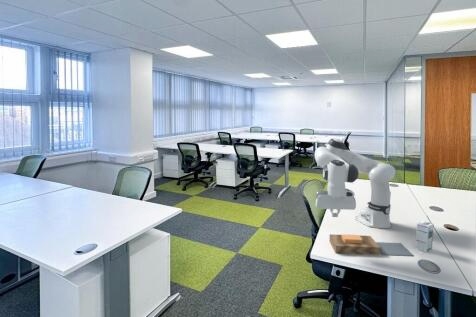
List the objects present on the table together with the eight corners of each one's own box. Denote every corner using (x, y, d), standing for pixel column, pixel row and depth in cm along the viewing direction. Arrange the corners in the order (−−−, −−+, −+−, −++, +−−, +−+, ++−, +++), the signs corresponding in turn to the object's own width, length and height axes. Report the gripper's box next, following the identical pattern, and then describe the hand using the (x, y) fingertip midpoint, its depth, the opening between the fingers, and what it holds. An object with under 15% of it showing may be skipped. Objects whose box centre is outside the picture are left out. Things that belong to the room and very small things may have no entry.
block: (344, 242, 150) (344, 239, 150) (341, 237, 156) (341, 234, 156) (362, 243, 149) (362, 239, 149) (358, 238, 155) (358, 234, 155)
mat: (380, 254, 145) (380, 254, 145) (370, 242, 159) (370, 241, 159) (413, 256, 144) (413, 255, 143) (400, 243, 157) (400, 243, 157)
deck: (335, 253, 147) (335, 245, 146) (329, 241, 161) (329, 234, 160) (379, 254, 145) (380, 247, 144) (369, 242, 159) (370, 235, 158)
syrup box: (426, 252, 147) (429, 226, 145) (414, 248, 152) (416, 222, 150) (431, 250, 150) (434, 223, 148) (419, 245, 155) (422, 220, 153)
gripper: (316, 192, 147) (315, 218, 149) (357, 193, 145) (356, 219, 147) (314, 189, 153) (313, 214, 155) (354, 190, 151) (352, 215, 153)
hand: (334, 216), depth 151 cm, fingers closed
